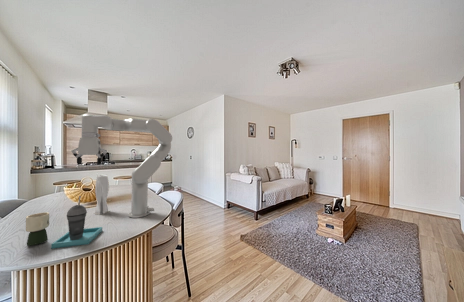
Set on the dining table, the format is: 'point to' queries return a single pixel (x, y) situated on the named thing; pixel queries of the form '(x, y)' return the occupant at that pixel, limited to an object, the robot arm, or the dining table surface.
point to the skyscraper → (101, 194)
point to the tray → (87, 238)
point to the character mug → (37, 228)
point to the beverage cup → (76, 221)
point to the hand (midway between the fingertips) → (89, 164)
